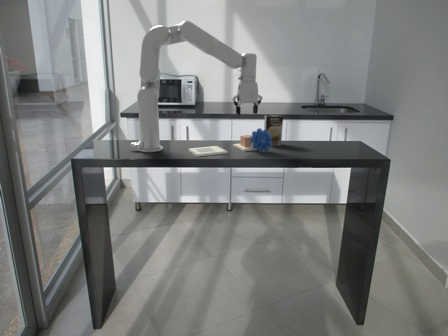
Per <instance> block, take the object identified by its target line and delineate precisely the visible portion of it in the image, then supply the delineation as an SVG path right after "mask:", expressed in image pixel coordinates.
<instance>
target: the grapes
mask: <svg viewBox="0 0 448 336" xmlns="http://www.w3.org/2000/svg"><path fill="white" fill-rule="evenodd" d="M250 137H251V138H250V141H251V142H252V146H253V148H257V151H258V152H260V153H261V152H263V151H265V152H267V151H269V150H270V149H269V148H270V147H273V146H272V142H271V141H270V140H272V136H271V135H268V131H267V130H264V129H262V128H261V127H260V128H257V130H253V131H252V132H251V136H250Z"/></svg>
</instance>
